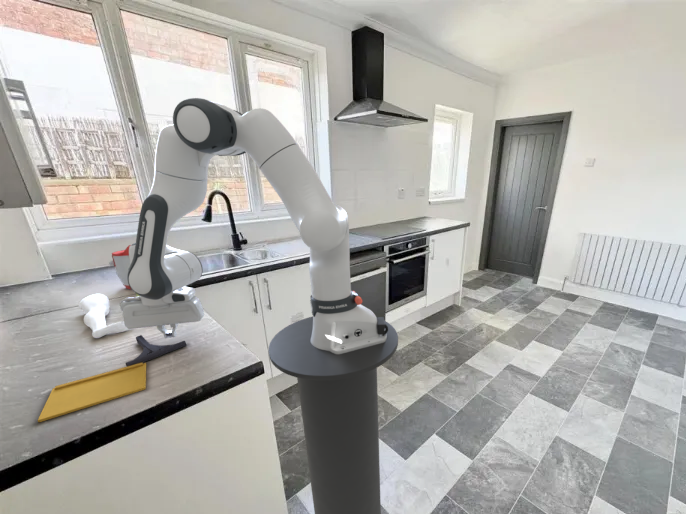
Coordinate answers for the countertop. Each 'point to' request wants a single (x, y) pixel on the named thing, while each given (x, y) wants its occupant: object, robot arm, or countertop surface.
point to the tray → (94, 390)
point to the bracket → (153, 350)
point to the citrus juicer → (122, 265)
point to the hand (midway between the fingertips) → (170, 336)
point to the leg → (99, 315)
